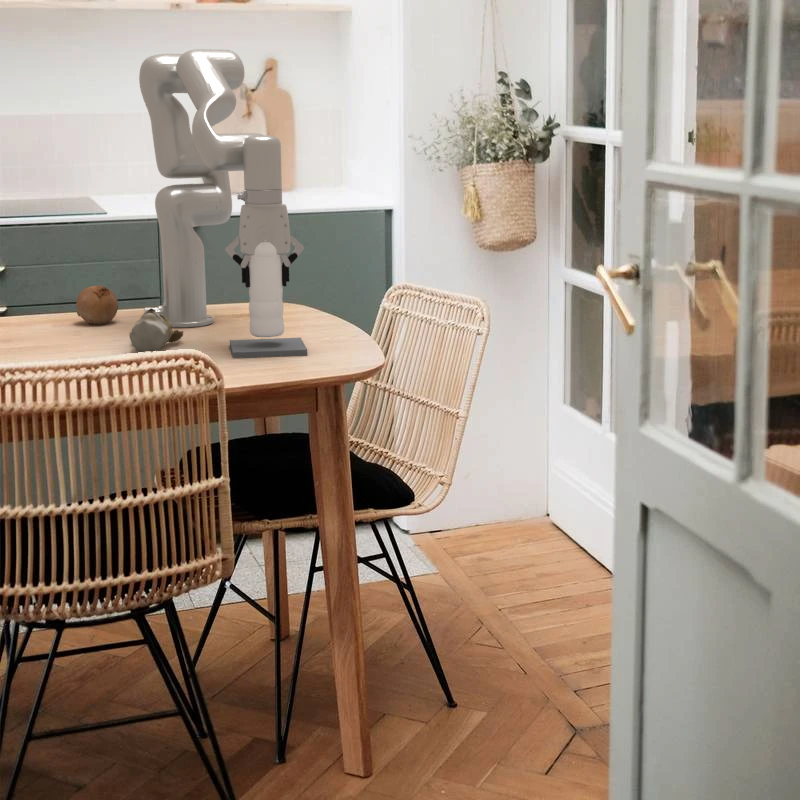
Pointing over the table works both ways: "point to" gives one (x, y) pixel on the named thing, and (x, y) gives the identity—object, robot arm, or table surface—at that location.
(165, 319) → the ceramic sculpture
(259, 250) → the water bottle
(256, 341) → the slate mat
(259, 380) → the table surface
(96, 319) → the onion
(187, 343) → the table surface
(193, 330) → the table surface
